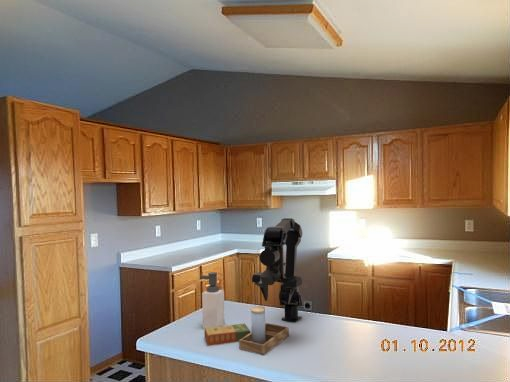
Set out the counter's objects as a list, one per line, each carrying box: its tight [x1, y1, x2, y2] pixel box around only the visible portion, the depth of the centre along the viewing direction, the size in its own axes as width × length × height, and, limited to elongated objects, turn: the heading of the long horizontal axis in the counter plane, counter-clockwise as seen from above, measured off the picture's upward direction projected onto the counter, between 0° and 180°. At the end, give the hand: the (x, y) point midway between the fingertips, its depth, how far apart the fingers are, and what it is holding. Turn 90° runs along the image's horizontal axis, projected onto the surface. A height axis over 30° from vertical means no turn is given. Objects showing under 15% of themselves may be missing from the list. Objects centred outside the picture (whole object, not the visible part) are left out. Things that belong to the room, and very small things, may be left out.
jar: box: [250, 305, 266, 344], centre depth 131 cm, size 5×5×13 cm
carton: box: [203, 323, 251, 347], centre depth 139 cm, size 8×16×4 cm, turn 106°
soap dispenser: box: [199, 271, 226, 330], centre depth 151 cm, size 6×9×22 cm
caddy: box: [238, 322, 290, 356], centre depth 135 cm, size 19×10×3 cm, turn 149°
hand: (276, 302), depth 139 cm, fingers open, 9 cm apart
